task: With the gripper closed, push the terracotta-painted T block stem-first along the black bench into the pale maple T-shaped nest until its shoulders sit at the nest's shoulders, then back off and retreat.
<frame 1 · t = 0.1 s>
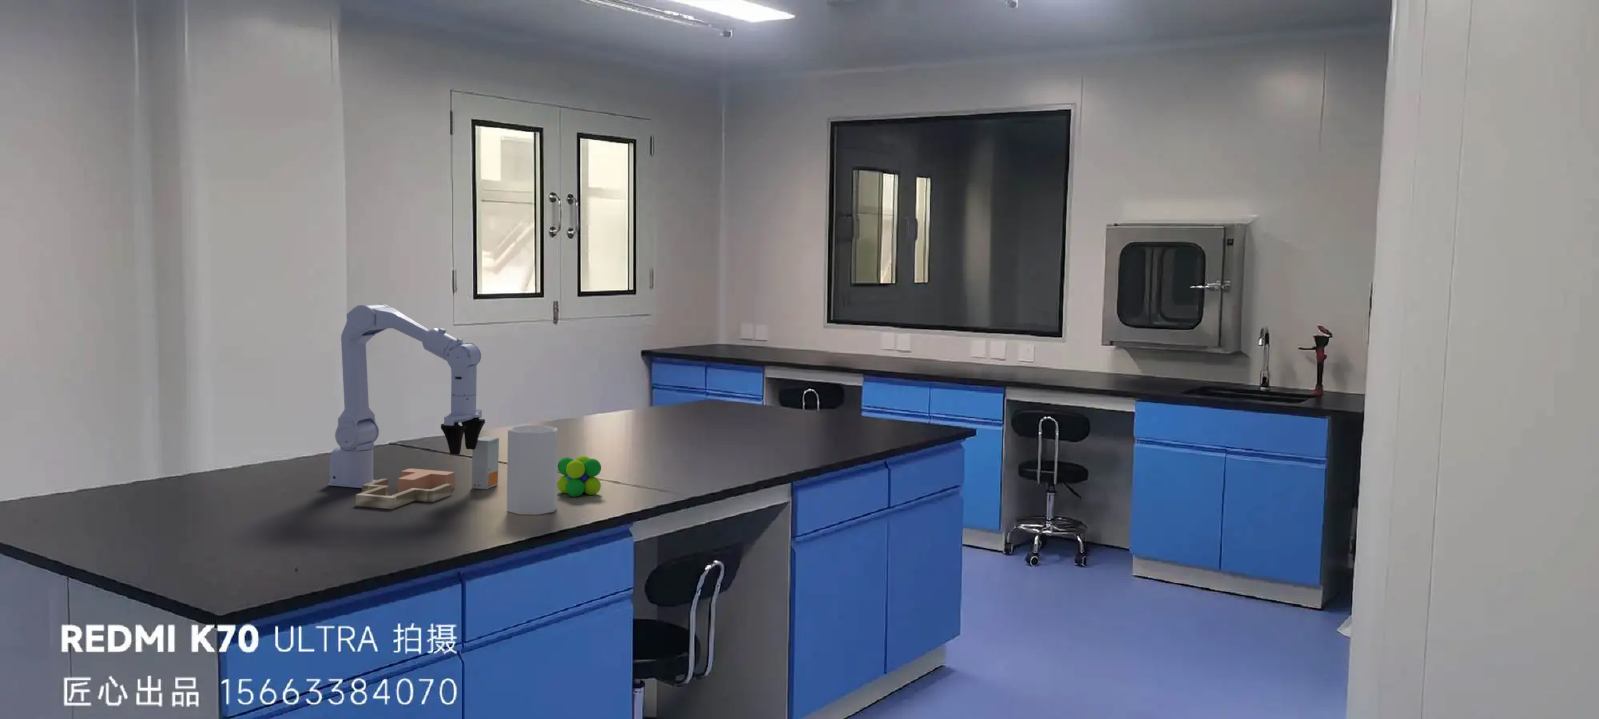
hand: (462, 451, 271), 10 cm above the worktop, fingers open, 7 cm apart
skincare box: (485, 487, 280), on the worktop
nest: (400, 497, 265), on the worktop
molecule model: (578, 494, 276), on the worktop
cup: (531, 510, 257), on the worktop
tee: (427, 487, 277), on the worktop
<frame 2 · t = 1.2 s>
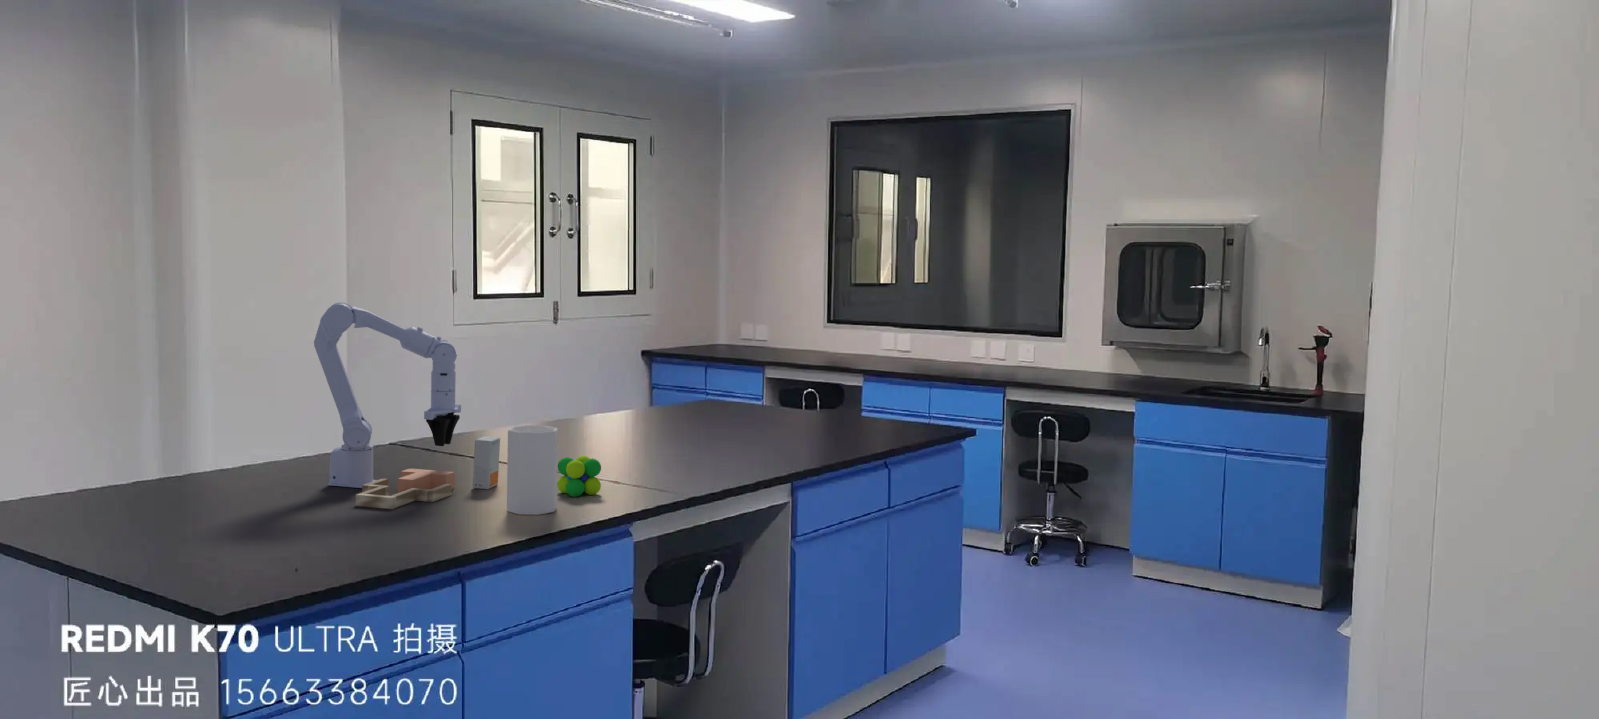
hand: (442, 444, 283), 9 cm above the worktop, fingers closed
nothing on the worktop moved.
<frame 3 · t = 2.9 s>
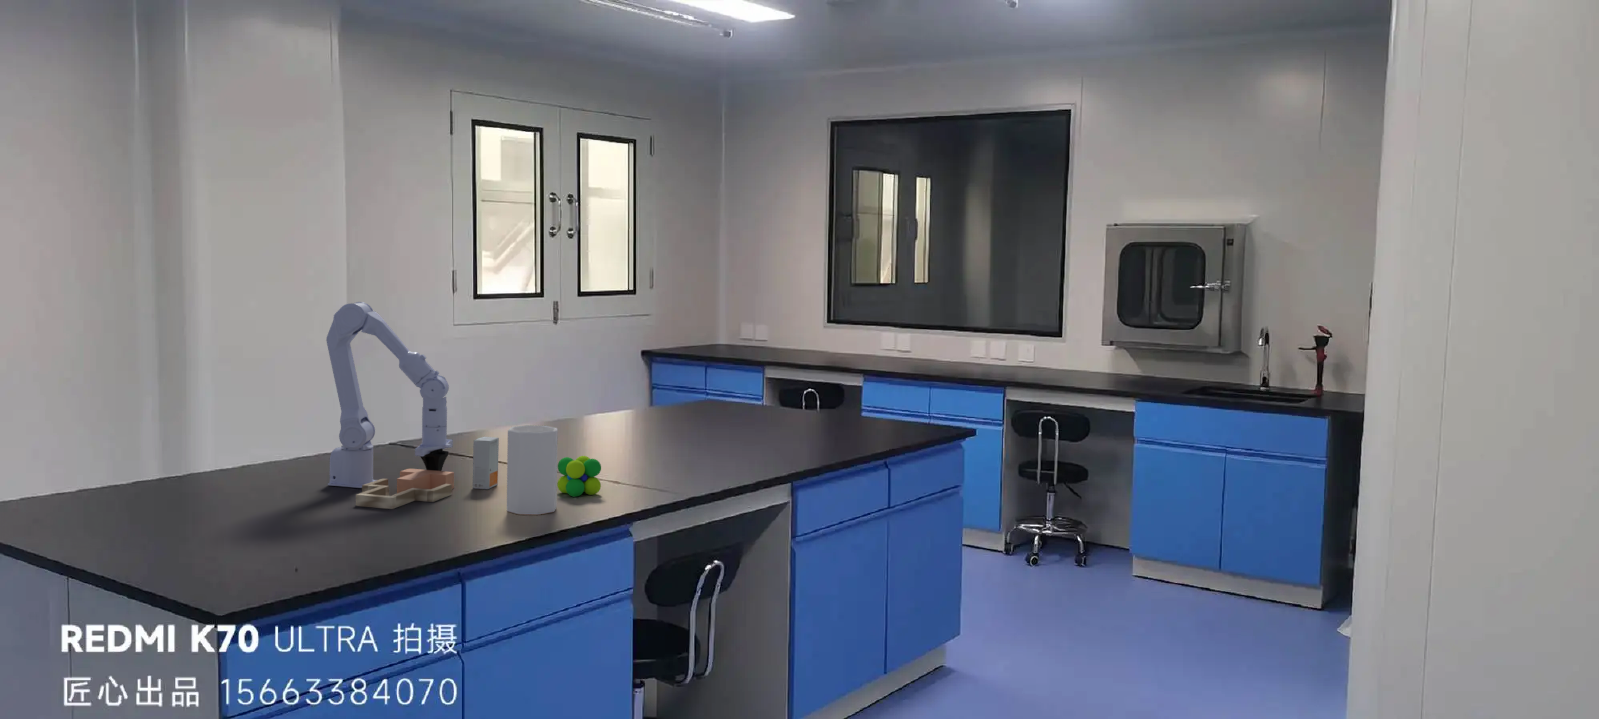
hand: (434, 480, 279), 1 cm above the worktop, fingers closed
tee: (426, 487, 276), on the worktop, touching gripper
everything else where it was.
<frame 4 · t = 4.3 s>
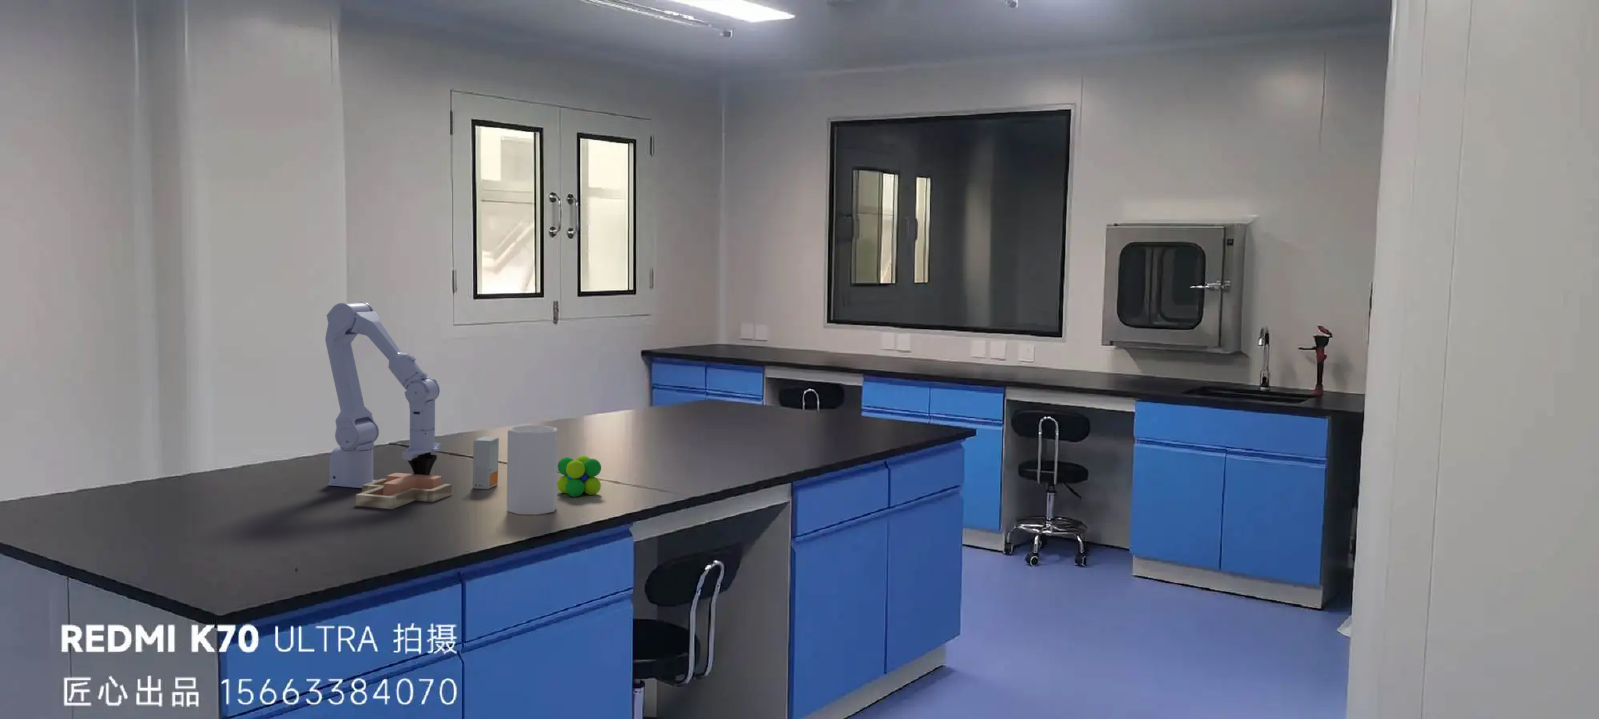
hand: (421, 485, 274), 1 cm above the worktop, fingers closed
tee: (414, 492, 270), on the worktop, touching gripper
everything else where it was.
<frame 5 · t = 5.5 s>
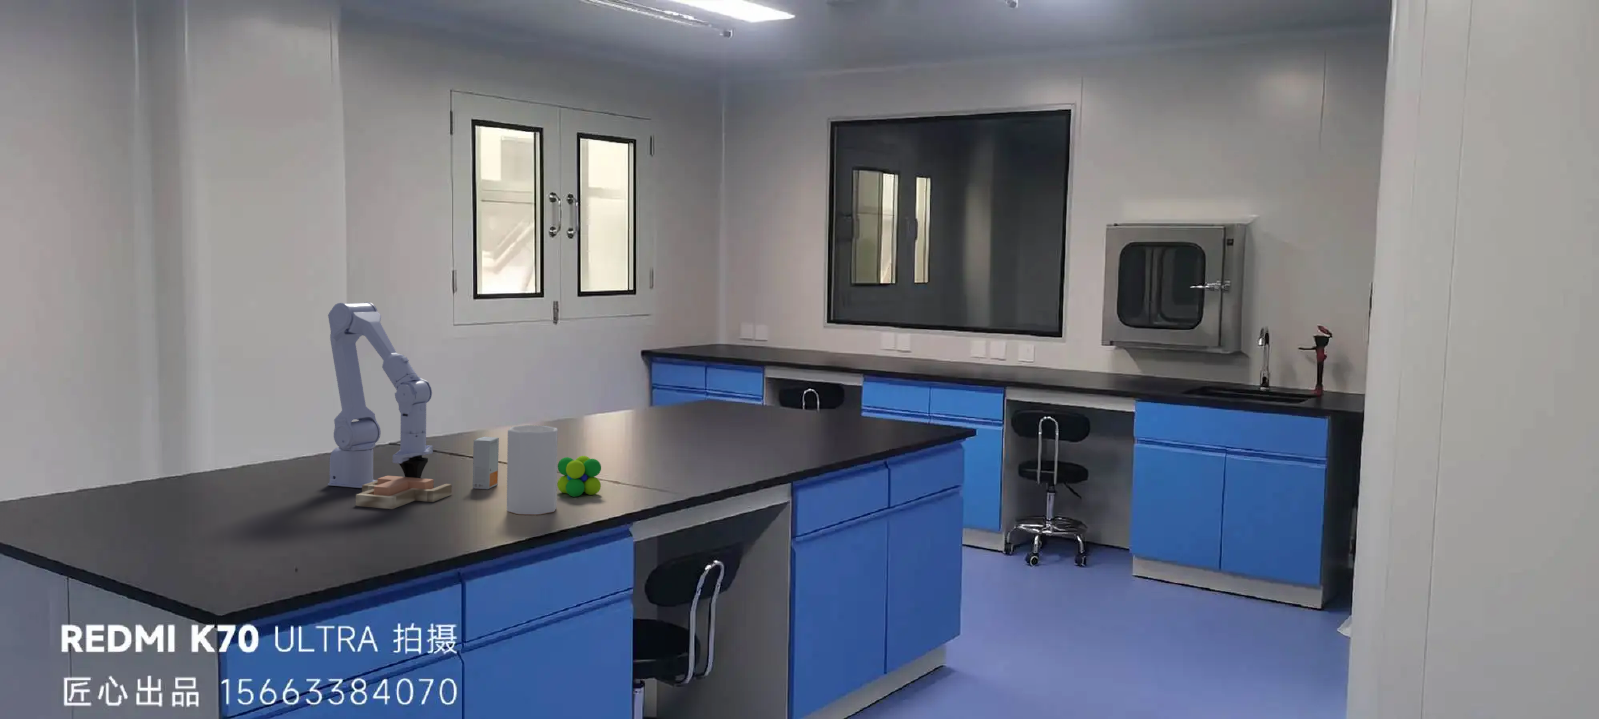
hand: (412, 488, 270), 1 cm above the worktop, fingers closed
tee: (405, 495, 267), on the worktop, touching gripper, nest
everything else where it was.
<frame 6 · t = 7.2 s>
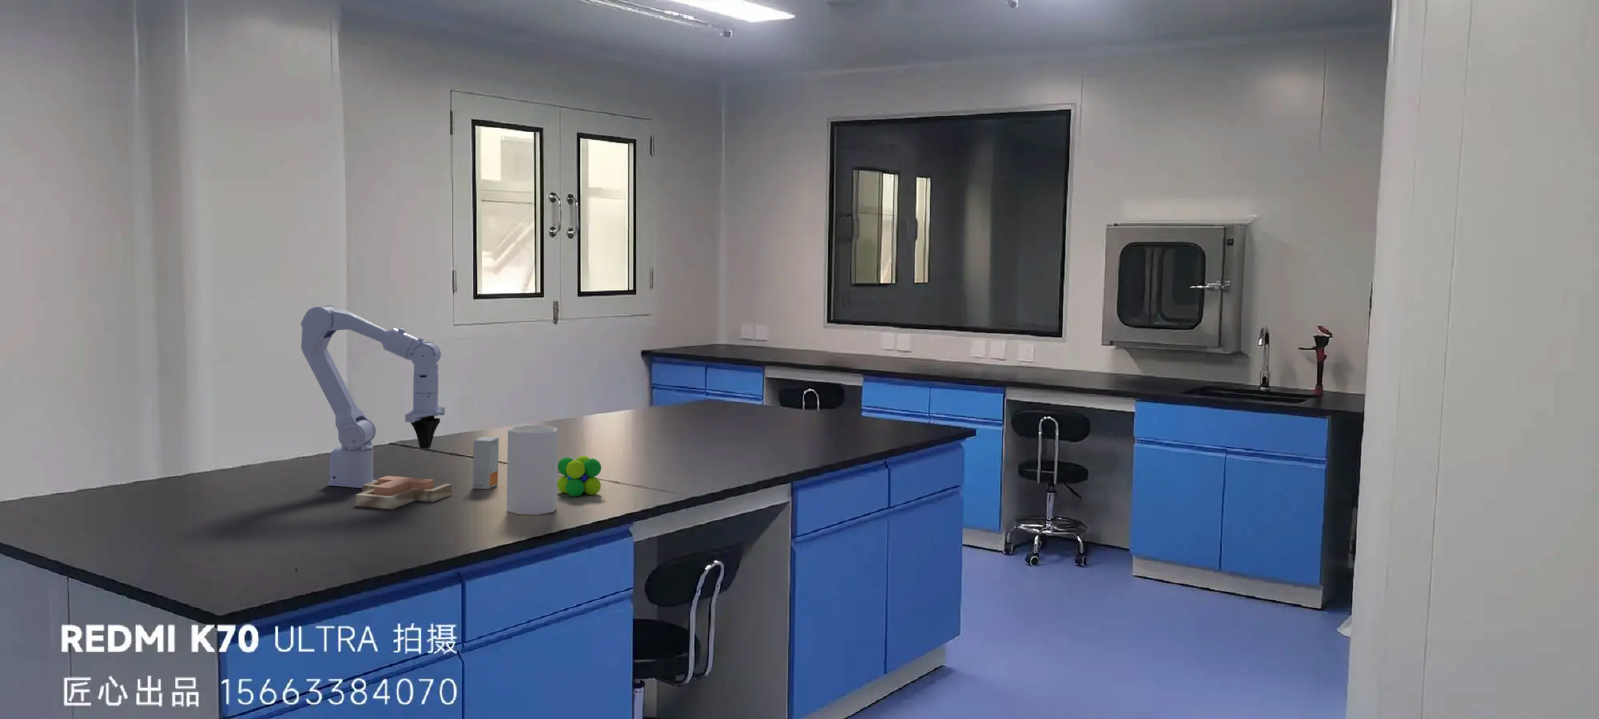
hand: (425, 448, 278), 9 cm above the worktop, fingers closed
tee: (405, 496, 267), on the worktop
everything else where it was.
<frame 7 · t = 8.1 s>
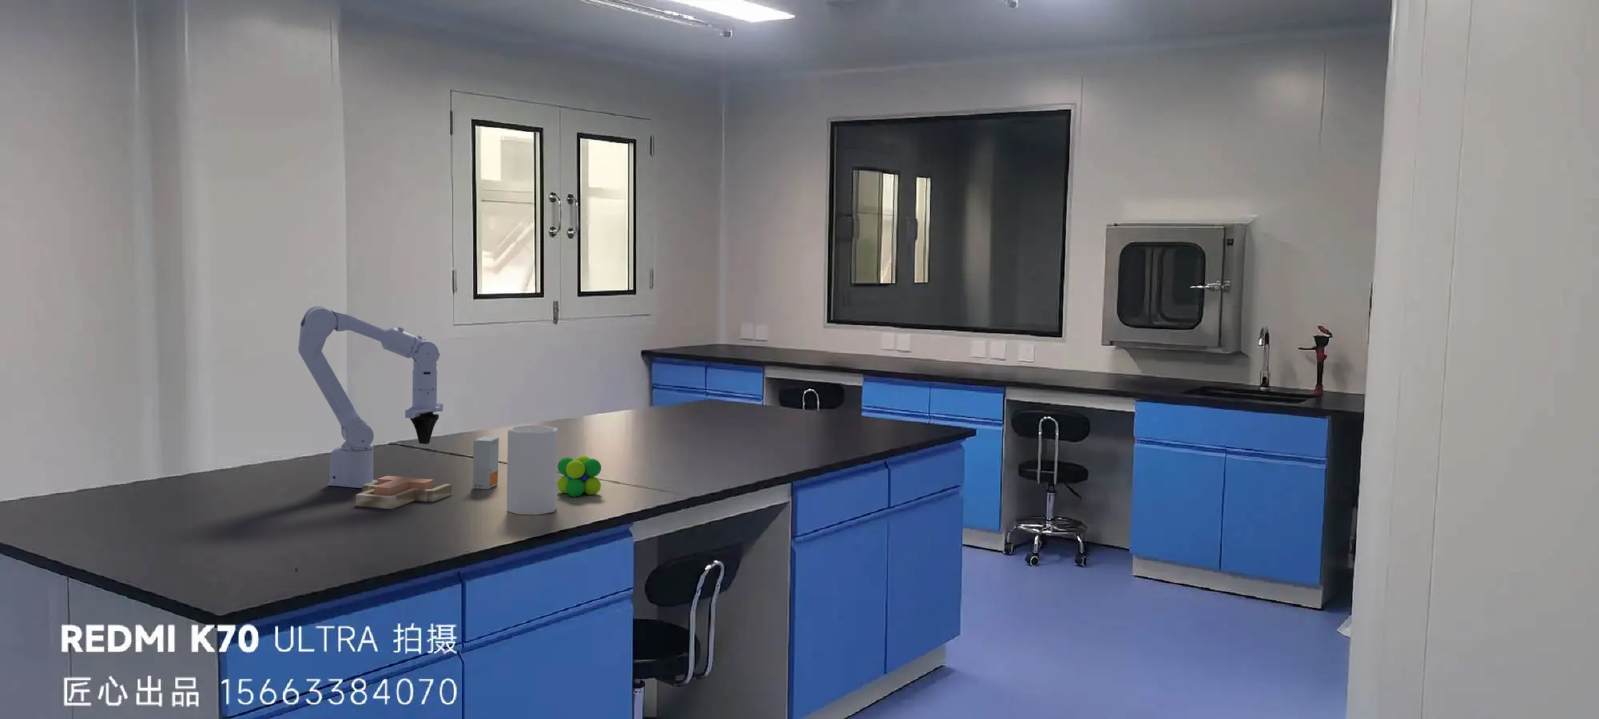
hand: (424, 443, 283), 9 cm above the worktop, fingers closed
nothing on the worktop moved.
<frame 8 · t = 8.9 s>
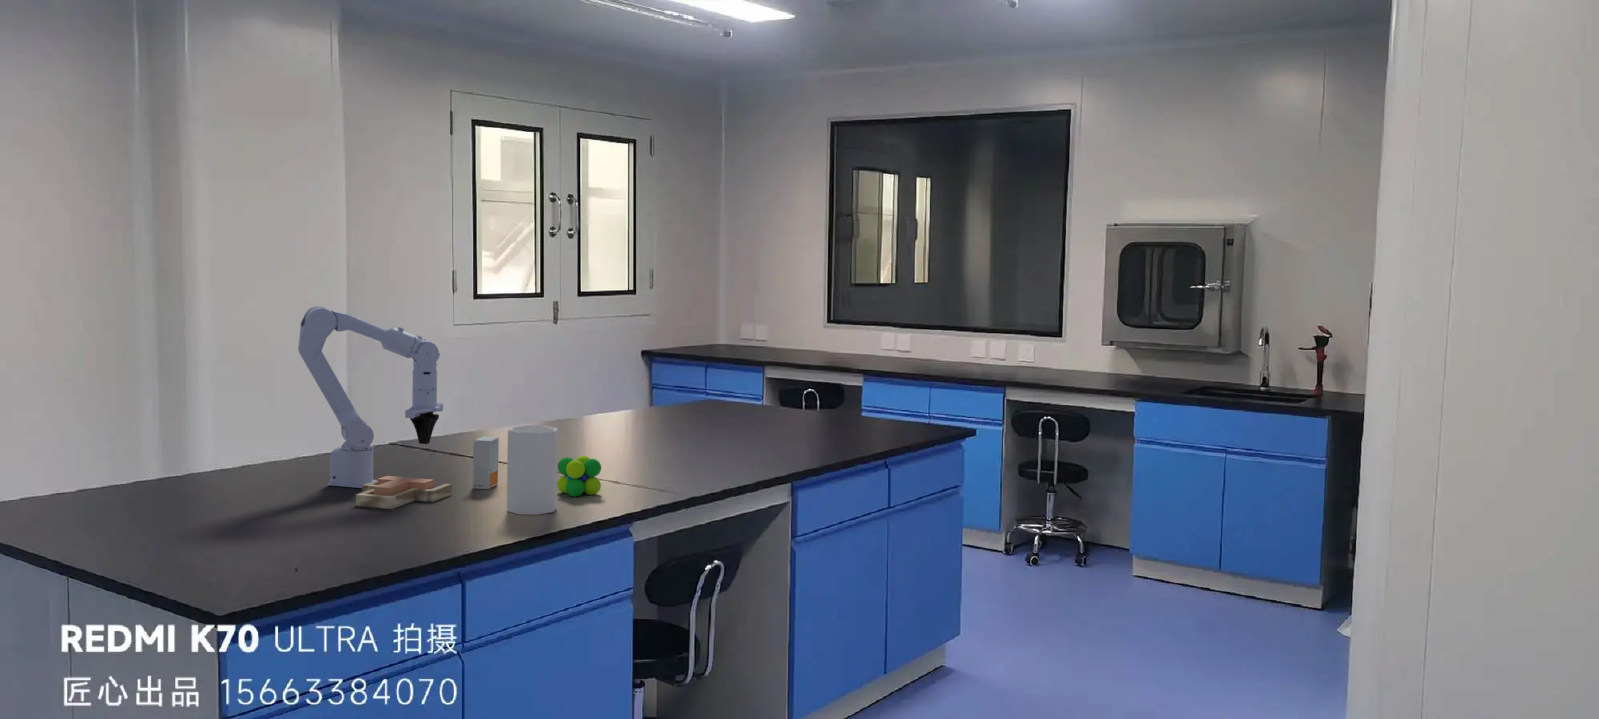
hand: (424, 443, 283), 9 cm above the worktop, fingers closed
nothing on the worktop moved.
at the end: tee 0.5 cm from the target spot on the nest, point 0.0 cm above the nest's base; tee tilted 0°; tee moved 10.0 cm from its start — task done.
